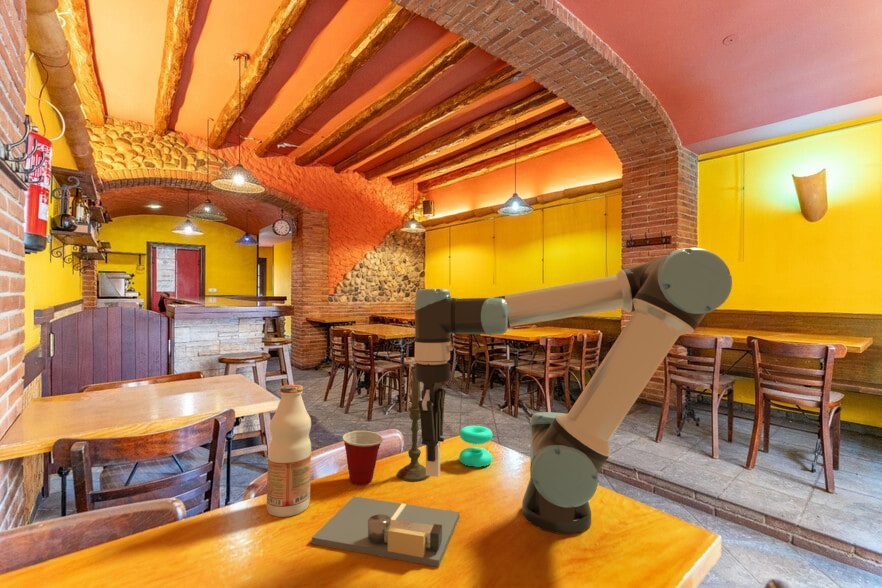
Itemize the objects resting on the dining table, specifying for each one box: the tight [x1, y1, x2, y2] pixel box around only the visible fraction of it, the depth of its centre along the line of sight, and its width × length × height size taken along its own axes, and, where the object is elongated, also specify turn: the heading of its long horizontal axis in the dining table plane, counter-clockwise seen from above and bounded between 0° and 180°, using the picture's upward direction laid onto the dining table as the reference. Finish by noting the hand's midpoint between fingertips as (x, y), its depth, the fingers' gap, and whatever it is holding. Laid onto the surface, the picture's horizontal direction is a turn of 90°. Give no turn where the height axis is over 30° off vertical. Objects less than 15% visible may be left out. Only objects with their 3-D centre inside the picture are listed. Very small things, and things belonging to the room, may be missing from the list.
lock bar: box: [368, 514, 442, 550], centre depth 79 cm, size 14×4×3 cm, turn 78°
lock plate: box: [311, 496, 460, 568], centre depth 86 cm, size 26×18×5 cm
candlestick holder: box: [397, 368, 430, 482], centre depth 115 cm, size 9×9×30 cm
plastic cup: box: [342, 430, 384, 486], centre depth 110 cm, size 11×11×12 cm
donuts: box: [458, 425, 493, 468], centre depth 124 cm, size 10×10×10 cm
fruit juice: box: [266, 384, 312, 518], centre depth 95 cm, size 9×9×28 cm
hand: (432, 474), depth 86 cm, fingers closed
